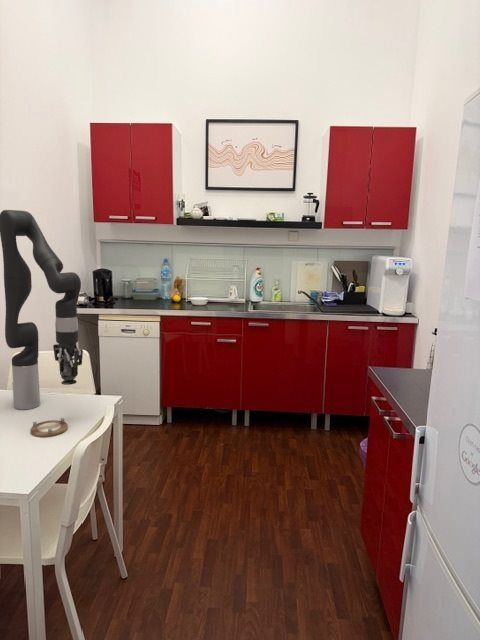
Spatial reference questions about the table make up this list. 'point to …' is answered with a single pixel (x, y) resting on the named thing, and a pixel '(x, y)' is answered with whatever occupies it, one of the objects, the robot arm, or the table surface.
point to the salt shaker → (67, 373)
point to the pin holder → (49, 428)
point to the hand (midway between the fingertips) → (68, 374)
